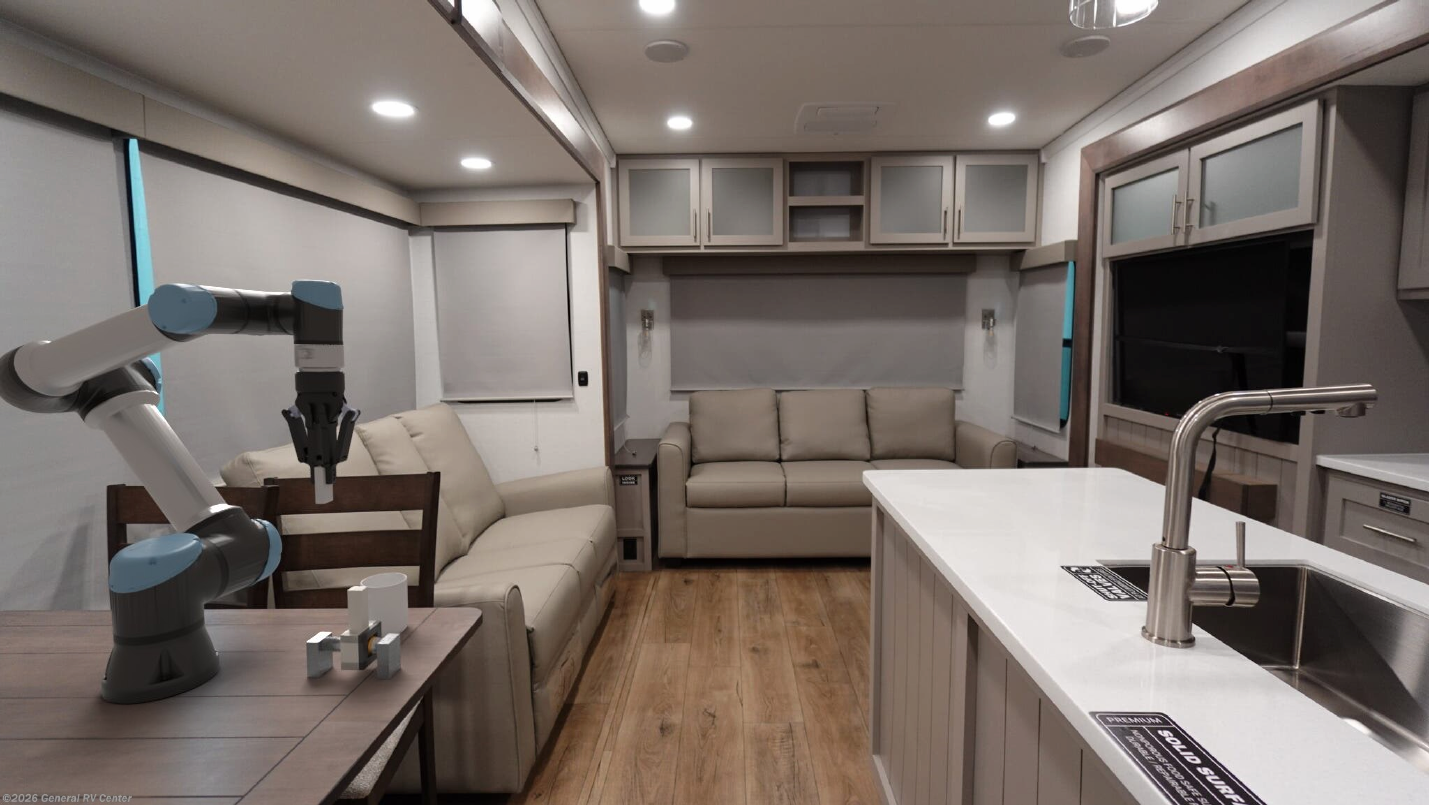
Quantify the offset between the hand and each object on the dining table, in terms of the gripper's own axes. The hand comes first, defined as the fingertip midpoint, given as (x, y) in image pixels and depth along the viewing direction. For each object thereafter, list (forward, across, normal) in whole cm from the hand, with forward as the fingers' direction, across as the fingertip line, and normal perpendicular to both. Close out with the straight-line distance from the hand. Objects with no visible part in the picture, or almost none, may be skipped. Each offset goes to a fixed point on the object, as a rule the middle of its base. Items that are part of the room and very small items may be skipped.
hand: (324, 501), depth 117 cm
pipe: (+28, +8, -6) cm, 30 cm away
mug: (+29, +4, +9) cm, 30 cm away
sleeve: (+26, +9, -6) cm, 29 cm away
